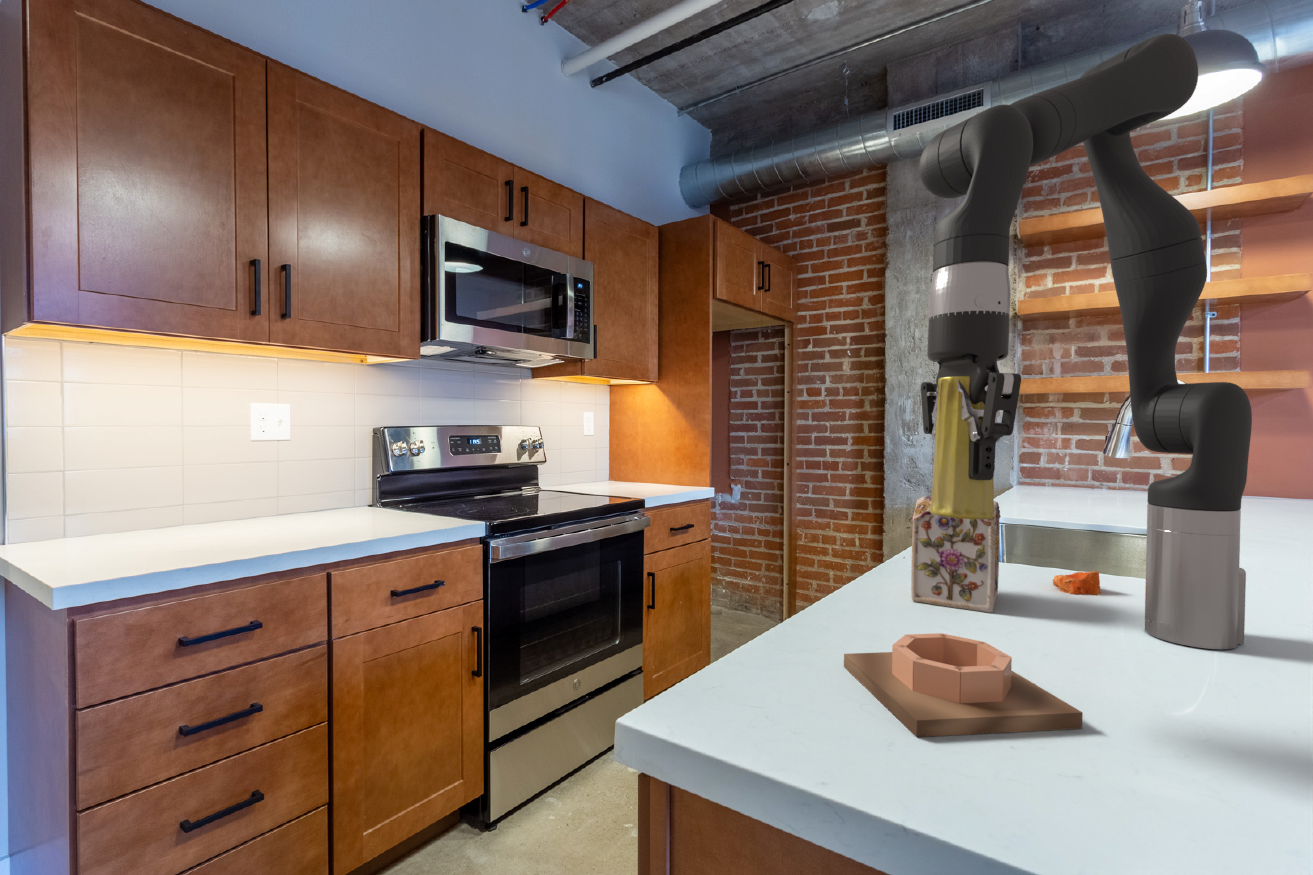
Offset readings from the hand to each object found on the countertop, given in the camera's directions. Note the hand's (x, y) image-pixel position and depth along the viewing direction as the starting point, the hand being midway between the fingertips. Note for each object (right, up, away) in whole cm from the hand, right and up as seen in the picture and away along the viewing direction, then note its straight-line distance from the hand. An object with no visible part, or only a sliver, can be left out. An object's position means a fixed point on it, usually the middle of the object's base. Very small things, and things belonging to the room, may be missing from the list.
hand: (962, 476), depth 65 cm
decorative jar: (+16, -22, +34) cm, 44 cm away
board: (-2, -22, -1) cm, 23 cm away
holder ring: (-2, -21, -1) cm, 21 cm away
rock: (+39, -23, +40) cm, 60 cm away
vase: (0, -4, 0) cm, 4 cm away
